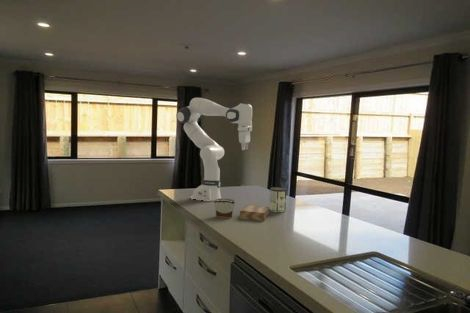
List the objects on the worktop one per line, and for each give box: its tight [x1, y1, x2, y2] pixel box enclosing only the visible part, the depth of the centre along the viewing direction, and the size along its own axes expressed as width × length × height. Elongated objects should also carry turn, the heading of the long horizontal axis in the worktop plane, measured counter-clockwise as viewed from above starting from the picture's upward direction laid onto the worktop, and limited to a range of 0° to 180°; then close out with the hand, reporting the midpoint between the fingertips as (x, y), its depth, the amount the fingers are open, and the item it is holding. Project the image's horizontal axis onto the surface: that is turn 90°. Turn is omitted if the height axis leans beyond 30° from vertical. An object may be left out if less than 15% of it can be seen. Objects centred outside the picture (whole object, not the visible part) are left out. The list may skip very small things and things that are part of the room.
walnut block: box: [239, 204, 270, 222], centre depth 203 cm, size 14×16×5 cm
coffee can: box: [269, 186, 287, 213], centre depth 220 cm, size 10×10×14 cm
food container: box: [213, 197, 236, 219], centre depth 201 cm, size 12×6×10 cm, turn 84°
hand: (244, 149), depth 223 cm, fingers open, 8 cm apart
